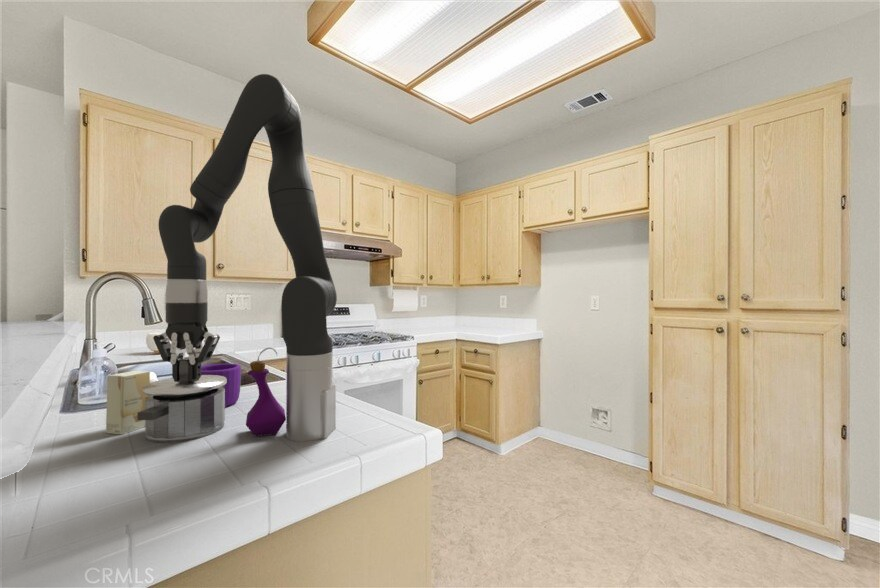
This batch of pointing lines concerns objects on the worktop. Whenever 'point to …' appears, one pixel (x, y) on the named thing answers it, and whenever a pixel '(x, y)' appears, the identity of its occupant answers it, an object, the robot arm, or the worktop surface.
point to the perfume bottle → (264, 404)
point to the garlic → (153, 377)
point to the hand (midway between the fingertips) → (186, 380)
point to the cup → (152, 341)
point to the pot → (183, 416)
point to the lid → (184, 384)
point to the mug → (233, 379)
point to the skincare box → (125, 401)
